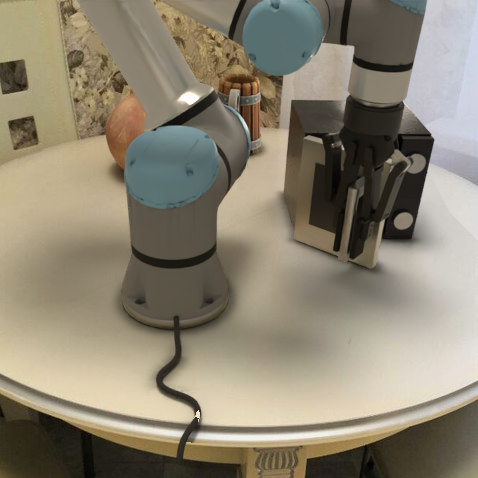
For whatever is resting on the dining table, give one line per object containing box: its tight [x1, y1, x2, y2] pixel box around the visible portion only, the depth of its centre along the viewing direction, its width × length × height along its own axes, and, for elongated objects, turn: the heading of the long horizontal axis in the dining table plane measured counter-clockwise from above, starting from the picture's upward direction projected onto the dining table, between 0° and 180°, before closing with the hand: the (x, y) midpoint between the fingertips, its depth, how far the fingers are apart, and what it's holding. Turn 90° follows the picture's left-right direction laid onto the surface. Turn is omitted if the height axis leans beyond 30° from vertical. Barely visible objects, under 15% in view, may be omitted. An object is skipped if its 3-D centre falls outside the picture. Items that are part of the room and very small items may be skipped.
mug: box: [216, 72, 262, 156], centre depth 130 cm, size 16×11×15 cm
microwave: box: [283, 99, 435, 239], centre depth 106 cm, size 18×20×18 cm
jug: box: [104, 87, 146, 172], centre depth 120 cm, size 18×18×20 cm
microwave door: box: [293, 135, 392, 270], centre depth 94 cm, size 7×15×18 cm, turn 53°
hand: (347, 251), depth 94 cm, fingers open, 2 cm apart
